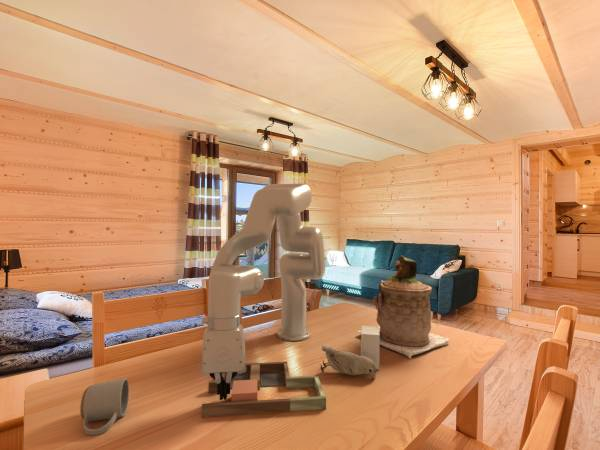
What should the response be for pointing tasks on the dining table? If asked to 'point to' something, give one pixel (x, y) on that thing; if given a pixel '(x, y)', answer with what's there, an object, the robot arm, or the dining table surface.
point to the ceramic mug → (104, 403)
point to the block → (244, 390)
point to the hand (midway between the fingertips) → (223, 396)
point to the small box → (370, 343)
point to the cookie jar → (405, 312)
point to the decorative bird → (348, 362)
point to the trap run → (269, 377)
